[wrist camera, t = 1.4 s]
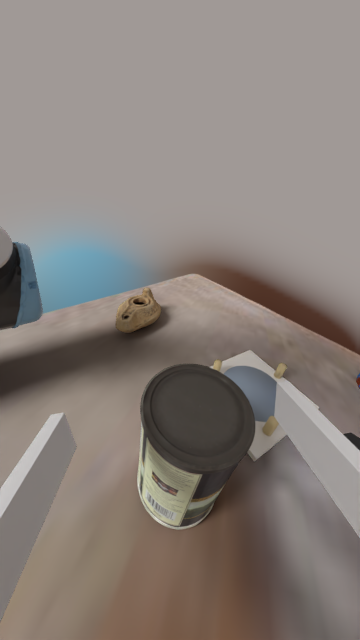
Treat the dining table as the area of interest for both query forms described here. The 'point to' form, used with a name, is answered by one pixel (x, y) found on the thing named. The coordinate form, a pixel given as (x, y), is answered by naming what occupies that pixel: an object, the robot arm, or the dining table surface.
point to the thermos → (358, 380)
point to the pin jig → (257, 396)
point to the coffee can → (190, 441)
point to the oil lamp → (137, 312)
